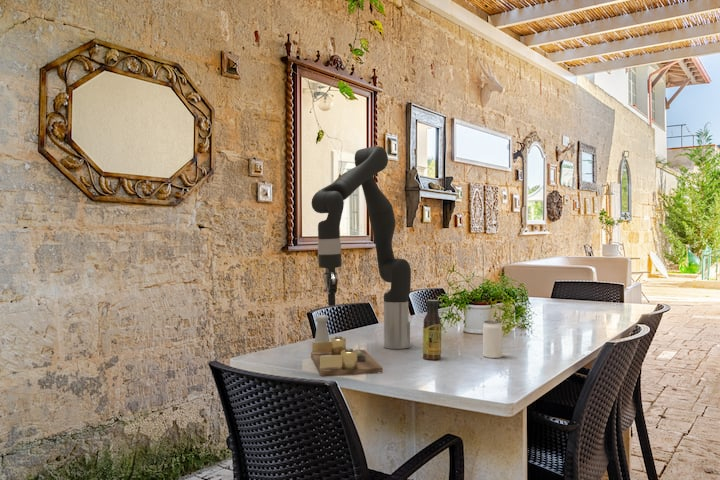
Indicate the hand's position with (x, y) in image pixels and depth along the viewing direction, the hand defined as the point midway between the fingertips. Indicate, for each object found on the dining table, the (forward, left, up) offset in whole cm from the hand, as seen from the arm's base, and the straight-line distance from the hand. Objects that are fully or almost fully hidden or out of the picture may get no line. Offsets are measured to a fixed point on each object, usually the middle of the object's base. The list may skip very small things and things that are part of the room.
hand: (331, 305), depth 193 cm
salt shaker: (+1, -23, -20) cm, 30 cm away
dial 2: (0, +13, -18) cm, 22 cm away
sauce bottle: (-34, -1, -20) cm, 40 cm away
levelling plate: (-4, 0, -19) cm, 20 cm away
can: (-55, +1, -20) cm, 59 cm away
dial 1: (0, -10, -18) cm, 20 cm away
